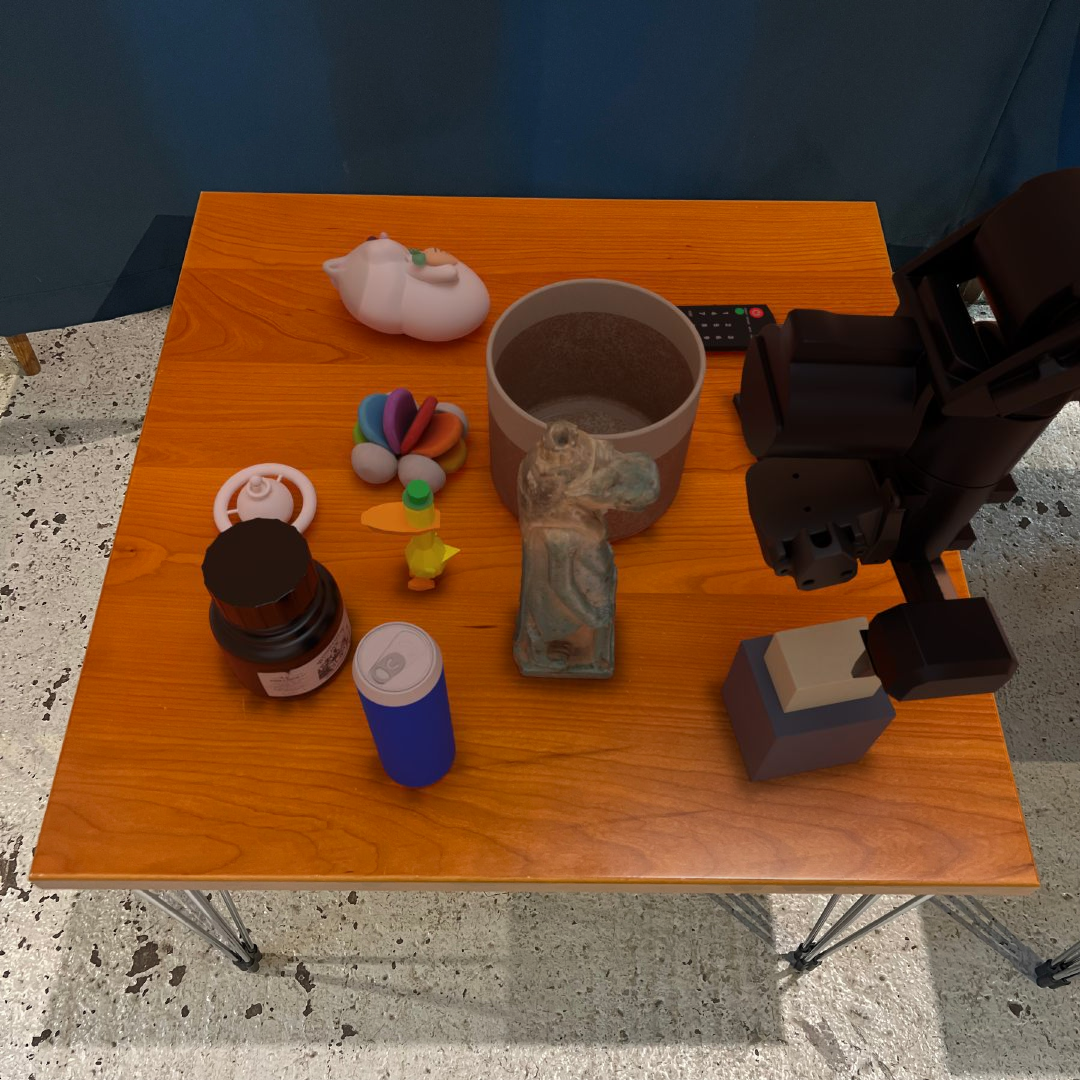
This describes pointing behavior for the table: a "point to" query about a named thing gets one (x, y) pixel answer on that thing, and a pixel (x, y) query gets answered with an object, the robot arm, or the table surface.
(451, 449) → the rainbow stacking pebbles
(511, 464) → the planter
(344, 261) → the cat figurine
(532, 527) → the statue
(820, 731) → the dark gray cube
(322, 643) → the ink bottle
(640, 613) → the table surface
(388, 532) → the toy figure
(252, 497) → the ring around a ball
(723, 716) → the table surface
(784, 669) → the beige block
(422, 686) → the beverage can
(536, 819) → the table surface
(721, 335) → the remote control
